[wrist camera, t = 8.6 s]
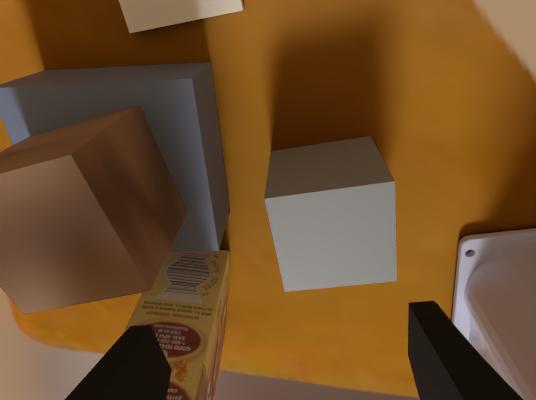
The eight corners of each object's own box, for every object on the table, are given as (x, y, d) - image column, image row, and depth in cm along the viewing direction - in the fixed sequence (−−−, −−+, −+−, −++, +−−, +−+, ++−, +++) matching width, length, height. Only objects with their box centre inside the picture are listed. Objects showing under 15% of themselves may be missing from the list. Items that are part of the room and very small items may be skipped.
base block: (230, 207, 21) (218, 250, 17) (96, 210, 21) (59, 252, 18) (212, 60, 17) (192, 78, 13) (48, 69, 17) (-12, 88, 14)
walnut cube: (187, 211, 16) (150, 291, 12) (90, 233, 17) (23, 314, 13) (138, 104, 14) (70, 154, 10) (29, 136, 15) (-78, 194, 11)
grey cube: (374, 219, 20) (396, 281, 16) (286, 229, 21) (284, 291, 17) (370, 135, 18) (394, 181, 14) (270, 150, 19) (264, 198, 14)
